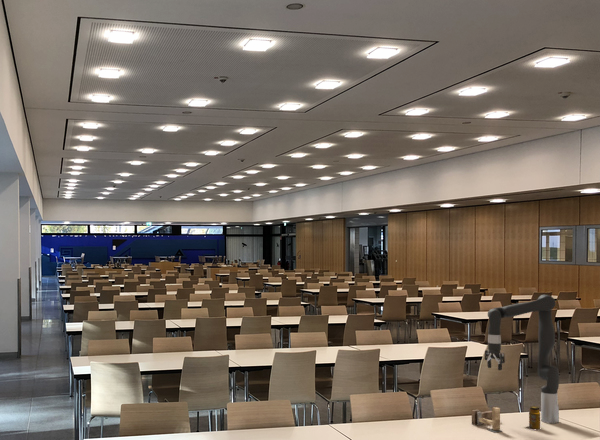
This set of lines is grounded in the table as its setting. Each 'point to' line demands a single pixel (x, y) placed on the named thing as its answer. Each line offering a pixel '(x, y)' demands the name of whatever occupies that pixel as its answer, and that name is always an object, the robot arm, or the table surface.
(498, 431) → the foot pad
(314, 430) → the table surface
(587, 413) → the table surface
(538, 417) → the condiment
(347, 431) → the table surface
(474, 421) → the walnut rail
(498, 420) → the wooden frame
